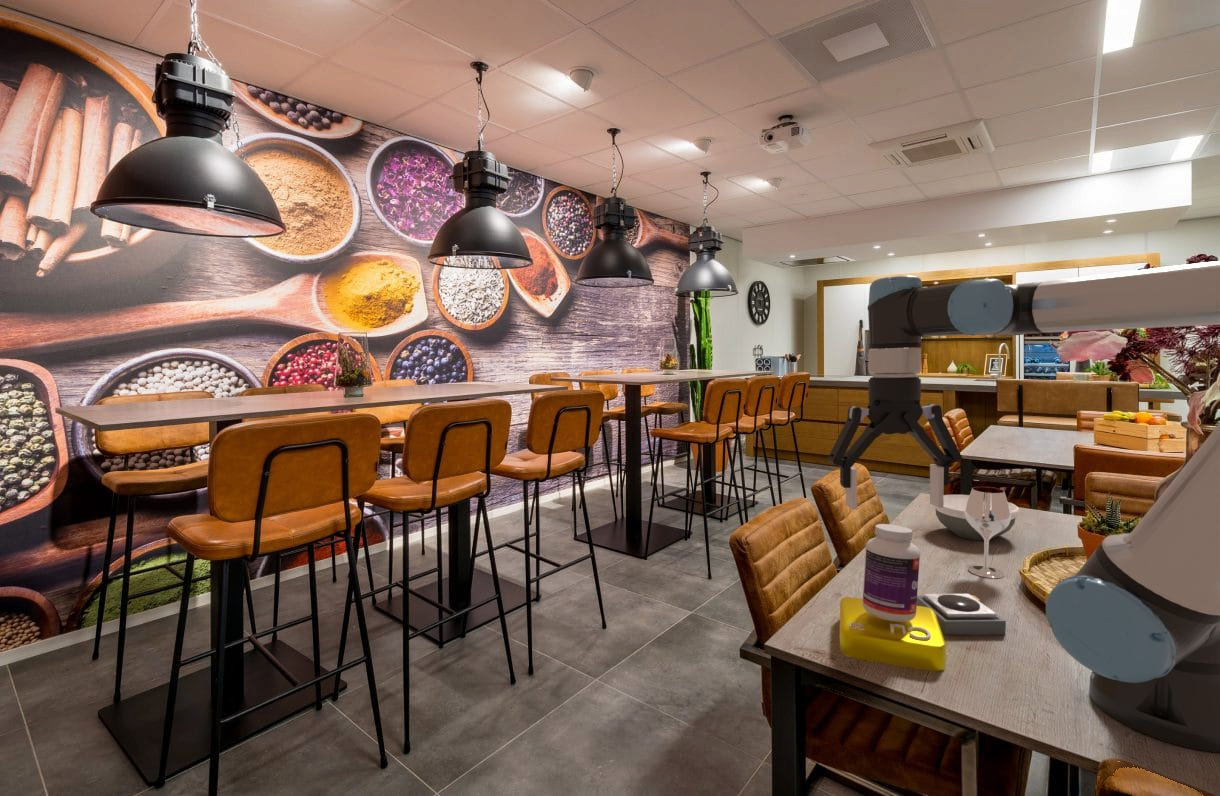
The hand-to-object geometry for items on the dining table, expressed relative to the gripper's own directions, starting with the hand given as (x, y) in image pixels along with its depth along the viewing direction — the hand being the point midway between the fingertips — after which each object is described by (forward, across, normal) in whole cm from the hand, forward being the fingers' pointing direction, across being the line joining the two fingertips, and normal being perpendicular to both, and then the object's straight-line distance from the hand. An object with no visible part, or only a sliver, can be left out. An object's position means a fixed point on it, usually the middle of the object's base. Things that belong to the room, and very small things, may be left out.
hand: (893, 506), depth 93 cm
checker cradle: (+23, -15, -8) cm, 28 cm away
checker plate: (+22, -15, -8) cm, 27 cm away
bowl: (+23, -45, -54) cm, 74 cm away
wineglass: (+23, -33, -30) cm, 50 cm away
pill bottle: (+18, +1, -1) cm, 19 cm away
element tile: (+24, 0, -1) cm, 24 cm away
